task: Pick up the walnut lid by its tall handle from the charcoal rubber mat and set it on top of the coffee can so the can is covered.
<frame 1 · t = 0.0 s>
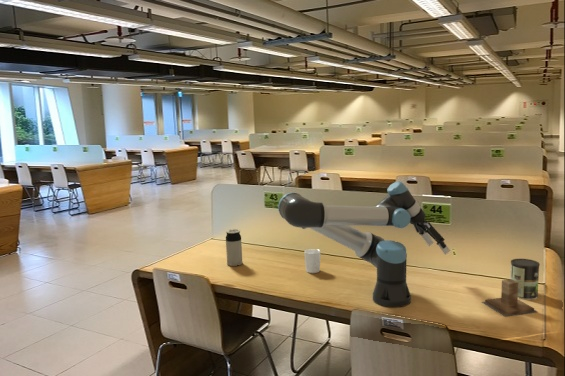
hand: (439, 248, 205), 15 cm above the table, tool tilted 35°, fingers open, 13 cm apart
white cup: (312, 271, 227), on the table
lid: (509, 306, 177), resting on mat
travel mug: (234, 264, 243), on the table
coffee can: (523, 295, 188), on the table
mat: (508, 307, 177), on the table
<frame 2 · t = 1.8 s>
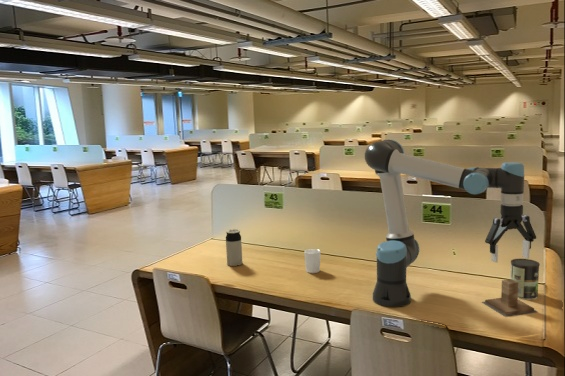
hand: (510, 259, 175), 19 cm above the table, tool pointing down, fingers open, 13 cm apart
nothing on the table moved.
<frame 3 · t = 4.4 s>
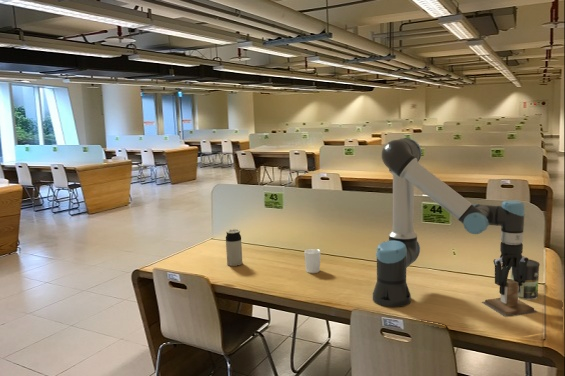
hand: (509, 301, 177), 3 cm above the table, tool pointing down, fingers closed on lid, 4 cm apart
lid: (509, 306, 177), resting on mat, touching gripper
everything else where it was.
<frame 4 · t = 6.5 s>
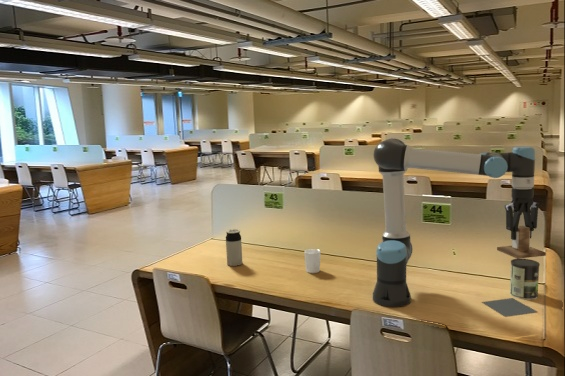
hand: (520, 247, 179), 22 cm above the table, tool pointing down, fingers closed on lid, 4 cm apart
lid: (520, 252, 180), point 20 cm above the table, touching gripper
everything else where it was.
when the fingers open (18 cm above the table, at t = 8.4 s): lid drops 2 cm, resting on coffee can.
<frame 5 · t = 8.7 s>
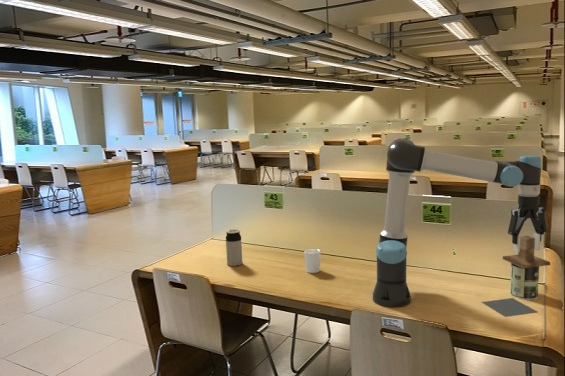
hand: (526, 250, 186), 19 cm above the table, tool pointing down, fingers open, 8 cm apart
lid: (525, 262, 186), point 14 cm above the table, touching coffee can
coffee can: (523, 295, 188), on the table, touching lid
everything else where it was.
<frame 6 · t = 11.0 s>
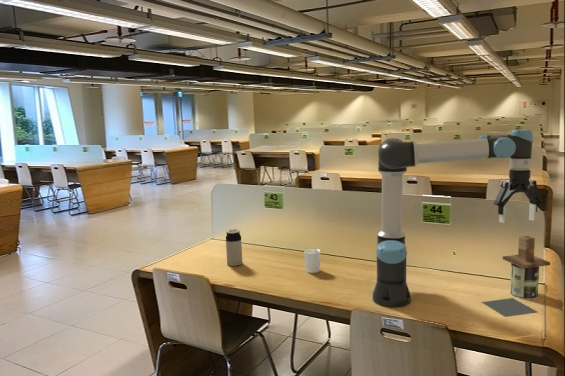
hand: (517, 221, 187), 30 cm above the table, tool pointing down, fingers open, 13 cm apart
nothing on the table moved.
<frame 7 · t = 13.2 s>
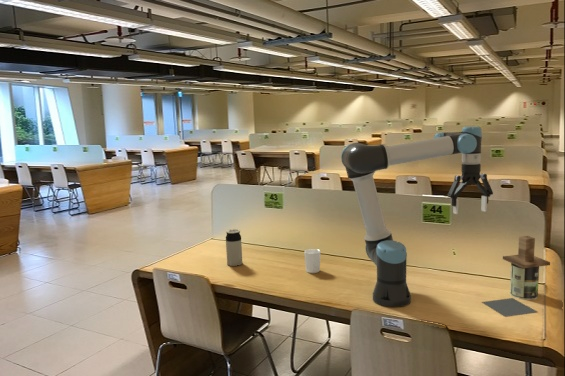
hand: (469, 212, 200), 32 cm above the table, tool pointing down, fingers open, 13 cm apart
nothing on the table moved.
at the end: lid inside the target area on the coffee can (0.4 cm from its centre), point 14.3 cm above the coffee can's base; coffee can tilted 0°; the gripper is holding nothing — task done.
